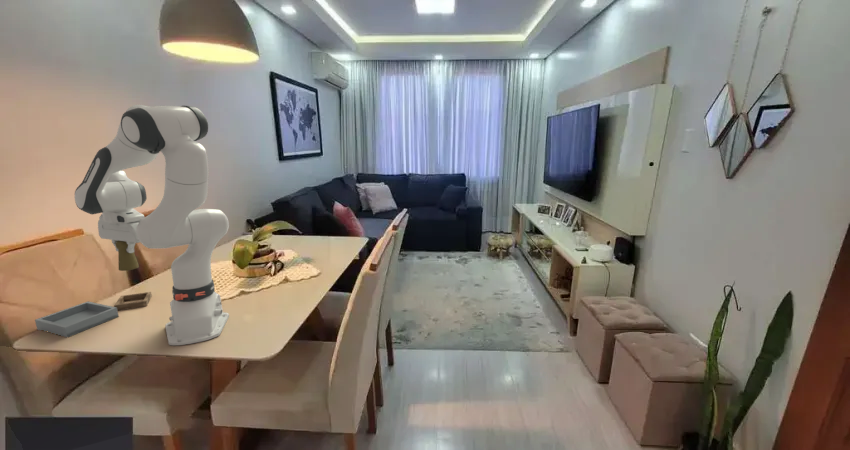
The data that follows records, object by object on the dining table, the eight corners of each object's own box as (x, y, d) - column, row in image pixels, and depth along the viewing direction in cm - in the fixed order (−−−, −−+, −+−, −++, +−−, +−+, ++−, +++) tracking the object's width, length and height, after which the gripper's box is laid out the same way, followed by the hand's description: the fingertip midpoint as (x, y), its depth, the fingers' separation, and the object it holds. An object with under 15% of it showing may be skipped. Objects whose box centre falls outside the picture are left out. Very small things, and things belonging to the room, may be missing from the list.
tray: (118, 316, 131) (116, 307, 130) (67, 337, 117) (65, 327, 116) (89, 310, 135) (88, 301, 135) (37, 329, 122) (34, 319, 121)
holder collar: (146, 306, 139) (146, 301, 139) (114, 310, 135) (113, 305, 135) (151, 296, 148) (151, 291, 147) (121, 300, 144) (120, 295, 143)
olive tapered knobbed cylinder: (128, 271, 135) (123, 242, 133) (114, 270, 136) (108, 241, 134) (143, 265, 141) (138, 237, 138) (129, 264, 142) (124, 237, 139)
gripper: (89, 214, 134) (96, 251, 137) (129, 218, 128) (135, 257, 131) (108, 211, 140) (115, 247, 143) (147, 215, 134) (153, 252, 137)
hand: (125, 251), depth 137 cm, fingers closed on olive tapered knobbed cylinder, 4 cm apart
